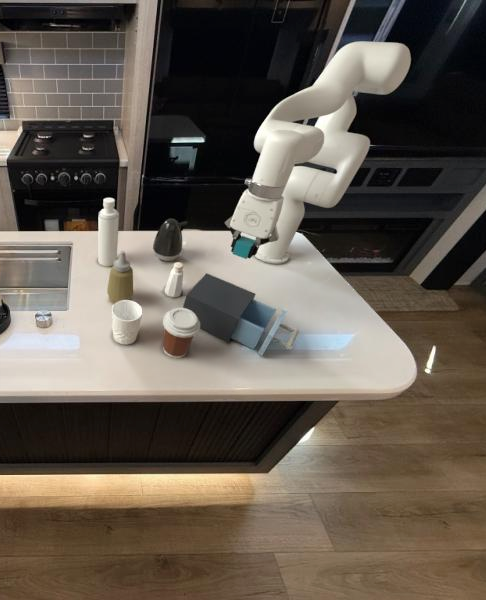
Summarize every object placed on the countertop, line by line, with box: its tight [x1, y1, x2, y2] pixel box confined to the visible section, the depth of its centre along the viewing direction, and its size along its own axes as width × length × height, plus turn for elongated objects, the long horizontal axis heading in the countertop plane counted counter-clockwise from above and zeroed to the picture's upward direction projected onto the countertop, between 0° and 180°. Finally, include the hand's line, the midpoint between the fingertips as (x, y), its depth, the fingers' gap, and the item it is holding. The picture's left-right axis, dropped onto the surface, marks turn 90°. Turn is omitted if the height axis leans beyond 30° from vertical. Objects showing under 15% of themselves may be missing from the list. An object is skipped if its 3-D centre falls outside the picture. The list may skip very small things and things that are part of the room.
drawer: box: [231, 299, 300, 357], centre depth 84 cm, size 18×11×8 cm, turn 50°
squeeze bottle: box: [106, 250, 134, 305], centre depth 93 cm, size 8×8×18 cm
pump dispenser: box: [152, 218, 188, 262], centre depth 111 cm, size 10×10×15 cm
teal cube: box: [231, 235, 256, 260], centre depth 86 cm, size 4×4×4 cm
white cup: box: [111, 299, 143, 346], centre depth 85 cm, size 8×8×10 cm
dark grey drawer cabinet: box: [182, 272, 257, 344], centre depth 90 cm, size 15×13×10 cm
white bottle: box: [97, 197, 120, 267], centre depth 106 cm, size 7×7×25 cm
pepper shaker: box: [164, 262, 184, 298], centre depth 98 cm, size 5×5×11 cm
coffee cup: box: [162, 307, 201, 359], centre depth 81 cm, size 9×9×12 cm
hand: (242, 252), depth 87 cm, fingers closed on teal cube, 4 cm apart
